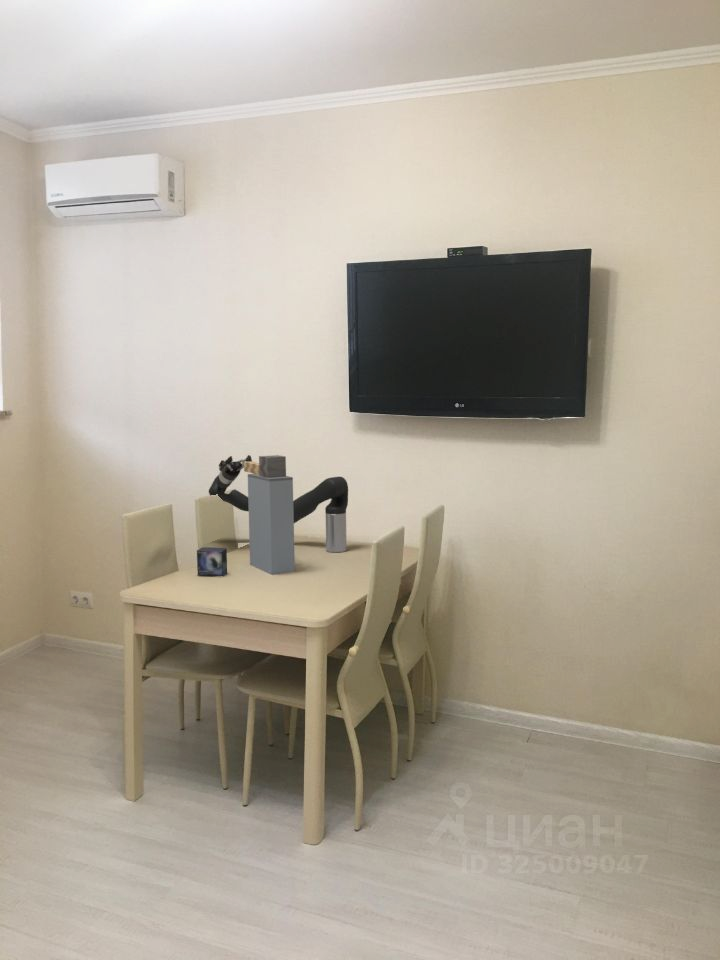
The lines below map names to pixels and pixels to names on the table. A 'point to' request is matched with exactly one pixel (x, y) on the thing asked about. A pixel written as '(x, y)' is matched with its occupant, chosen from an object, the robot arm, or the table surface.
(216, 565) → the small box
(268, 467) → the peg
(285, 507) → the stand
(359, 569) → the table surface
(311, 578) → the table surface
